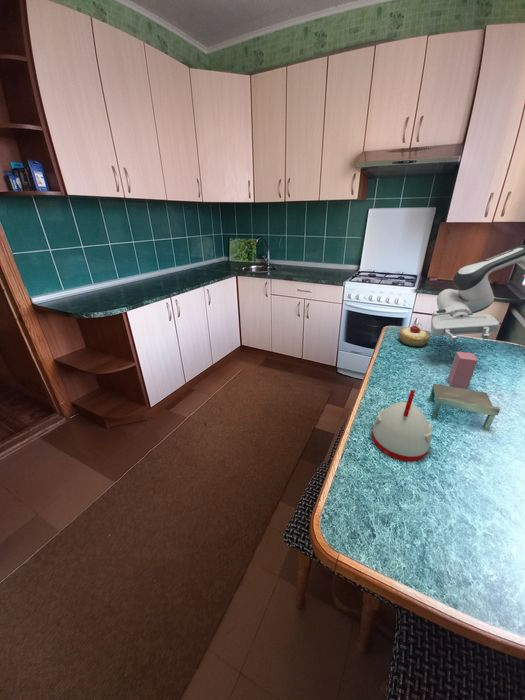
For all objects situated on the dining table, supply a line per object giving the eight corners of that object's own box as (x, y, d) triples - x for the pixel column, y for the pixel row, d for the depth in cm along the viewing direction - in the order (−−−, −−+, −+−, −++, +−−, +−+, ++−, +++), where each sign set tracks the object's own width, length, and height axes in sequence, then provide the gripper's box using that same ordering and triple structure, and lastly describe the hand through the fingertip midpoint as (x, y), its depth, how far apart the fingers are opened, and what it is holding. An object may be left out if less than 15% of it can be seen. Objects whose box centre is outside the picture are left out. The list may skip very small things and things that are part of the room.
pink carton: (463, 380, 102) (473, 353, 97) (467, 388, 98) (477, 360, 93) (447, 378, 103) (456, 351, 98) (450, 386, 99) (460, 358, 94)
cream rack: (480, 408, 88) (489, 387, 85) (489, 432, 79) (500, 409, 76) (428, 398, 93) (435, 377, 89) (432, 420, 84) (439, 398, 80)
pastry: (392, 341, 131) (395, 322, 127) (407, 334, 137) (411, 317, 133) (417, 351, 122) (422, 331, 118) (432, 343, 128) (437, 325, 124)
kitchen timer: (431, 434, 79) (446, 389, 72) (424, 470, 69) (441, 421, 62) (378, 416, 86) (387, 374, 79) (365, 446, 76) (374, 400, 69)
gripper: (488, 321, 108) (504, 343, 97) (426, 325, 114) (435, 347, 103) (492, 306, 104) (509, 328, 93) (428, 312, 110) (437, 333, 100)
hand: (470, 338), depth 98 cm, fingers open, 8 cm apart
